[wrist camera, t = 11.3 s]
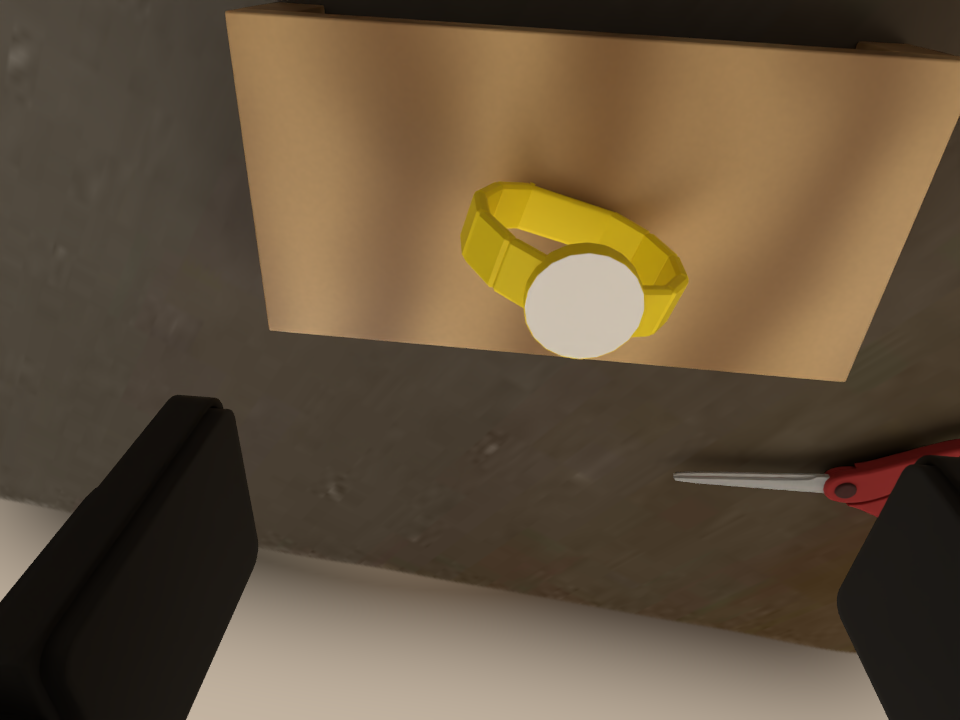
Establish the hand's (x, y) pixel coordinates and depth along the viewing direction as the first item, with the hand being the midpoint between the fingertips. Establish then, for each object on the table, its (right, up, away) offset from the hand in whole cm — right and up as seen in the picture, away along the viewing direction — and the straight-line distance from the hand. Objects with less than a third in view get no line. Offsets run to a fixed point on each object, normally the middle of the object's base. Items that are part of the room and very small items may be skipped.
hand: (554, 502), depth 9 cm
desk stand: (+2, +9, +14) cm, 16 cm away
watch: (+2, +7, +11) cm, 12 cm away
